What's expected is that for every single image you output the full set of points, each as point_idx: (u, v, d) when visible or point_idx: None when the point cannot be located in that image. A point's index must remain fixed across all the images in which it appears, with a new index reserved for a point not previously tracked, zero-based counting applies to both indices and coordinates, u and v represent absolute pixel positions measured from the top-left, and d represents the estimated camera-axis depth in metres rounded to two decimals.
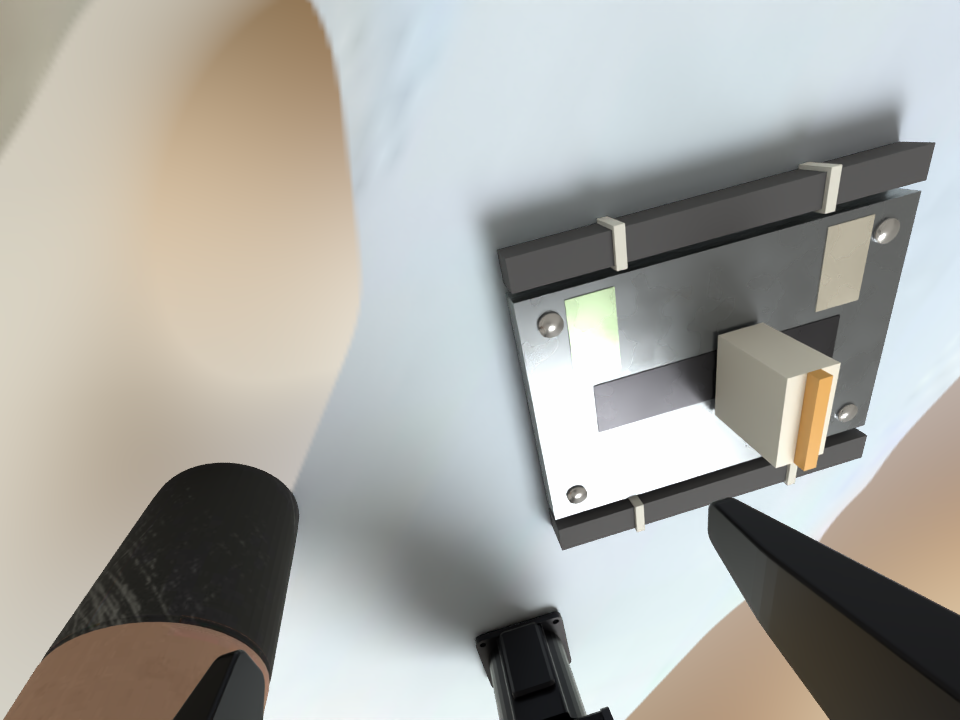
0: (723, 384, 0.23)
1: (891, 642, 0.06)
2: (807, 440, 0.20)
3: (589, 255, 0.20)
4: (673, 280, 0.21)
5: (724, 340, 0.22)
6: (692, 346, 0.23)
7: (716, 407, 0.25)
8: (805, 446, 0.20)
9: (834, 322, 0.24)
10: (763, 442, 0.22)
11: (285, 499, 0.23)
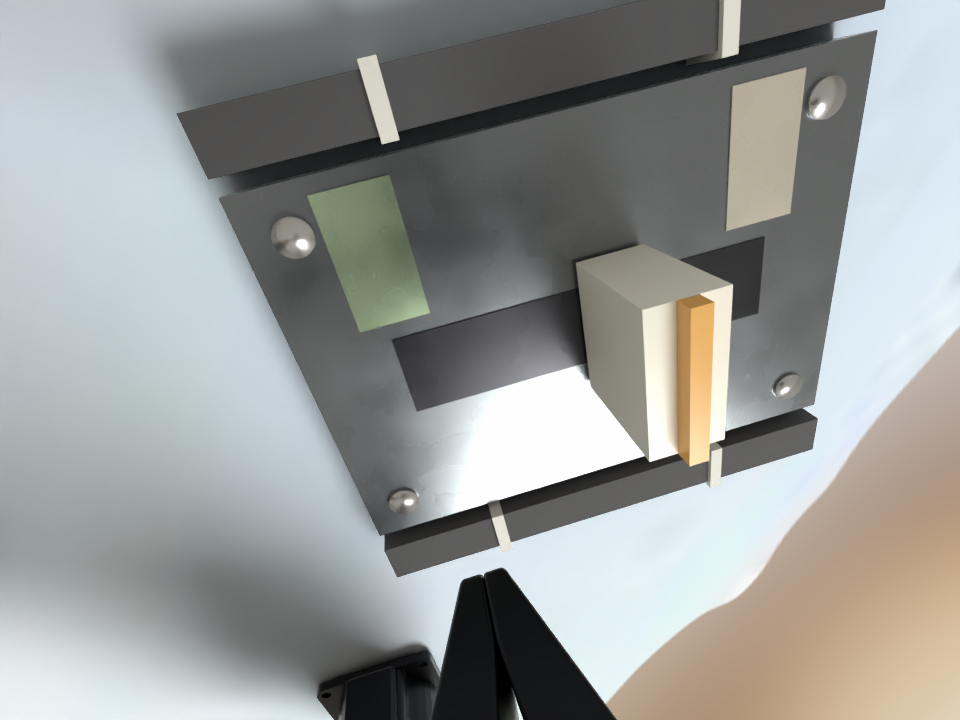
0: (590, 339, 0.16)
1: None
2: (688, 416, 0.12)
3: (330, 115, 0.12)
4: (489, 168, 0.13)
5: (581, 268, 0.15)
6: (539, 281, 0.15)
7: (590, 375, 0.17)
8: (687, 426, 0.13)
9: (757, 248, 0.16)
10: (634, 422, 0.14)
11: None
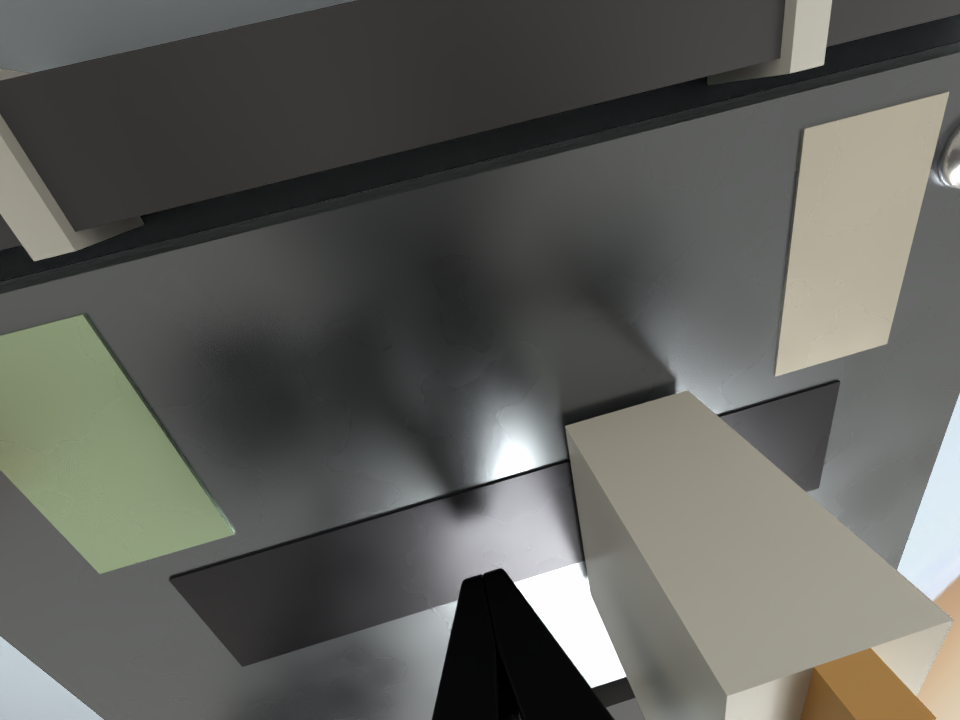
0: (591, 548, 0.09)
1: None
2: None
3: None
4: (308, 293, 0.07)
5: (575, 445, 0.08)
6: (439, 471, 0.08)
7: (590, 582, 0.10)
8: None
9: (826, 398, 0.09)
10: None
11: None
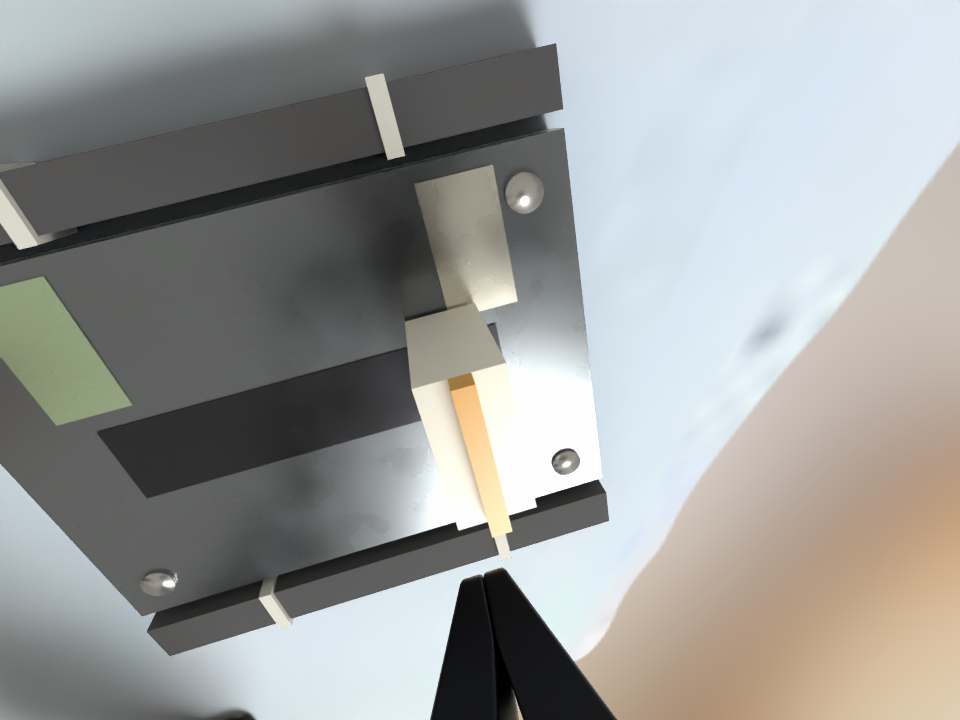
0: None
1: None
2: (478, 490, 0.12)
3: None
4: (158, 267, 0.13)
5: None
6: (251, 371, 0.15)
7: None
8: (482, 499, 0.12)
9: (492, 334, 0.16)
10: None
11: None
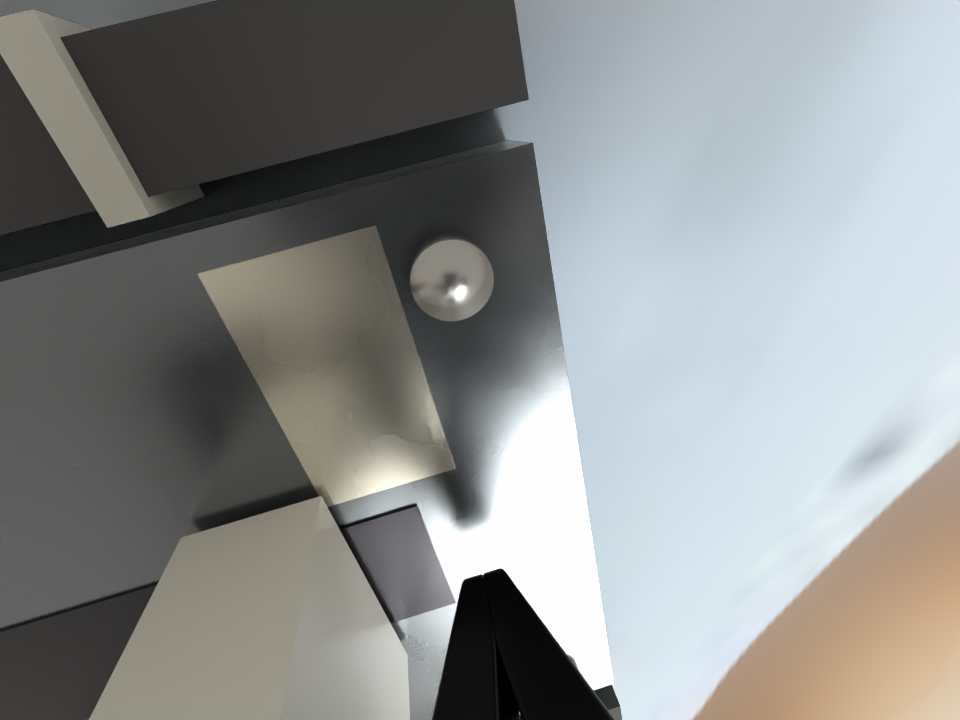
0: None
1: None
2: None
3: None
4: None
5: (171, 564, 0.07)
6: None
7: None
8: None
9: (412, 521, 0.09)
10: None
11: None
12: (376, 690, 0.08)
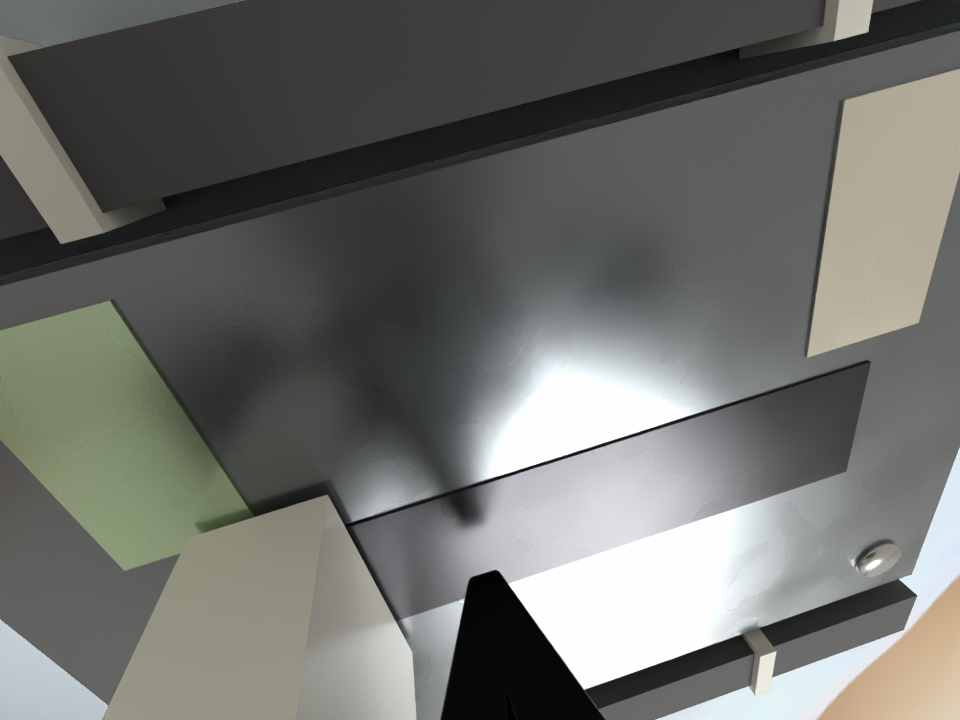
0: None
1: None
2: None
3: None
4: (340, 277, 0.06)
5: (179, 564, 0.07)
6: (469, 460, 0.08)
7: None
8: None
9: (856, 379, 0.09)
10: None
11: None
12: (384, 686, 0.08)
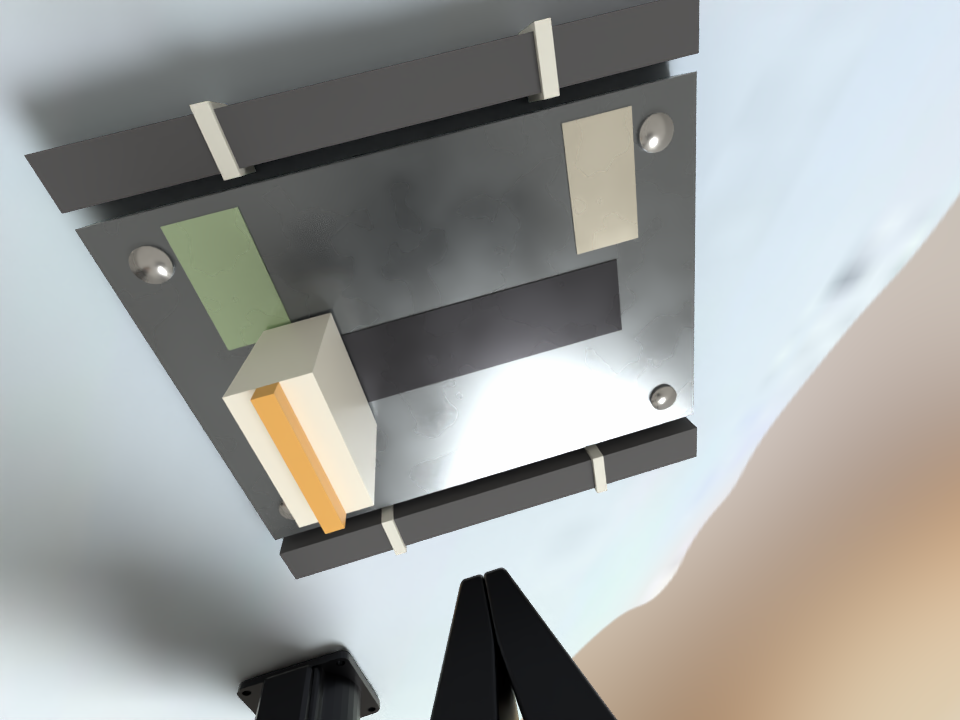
0: None
1: None
2: (302, 490, 0.13)
3: (172, 154, 0.13)
4: (334, 200, 0.15)
5: None
6: (400, 302, 0.16)
7: None
8: None
9: (611, 270, 0.17)
10: None
11: None
12: (357, 406, 0.16)
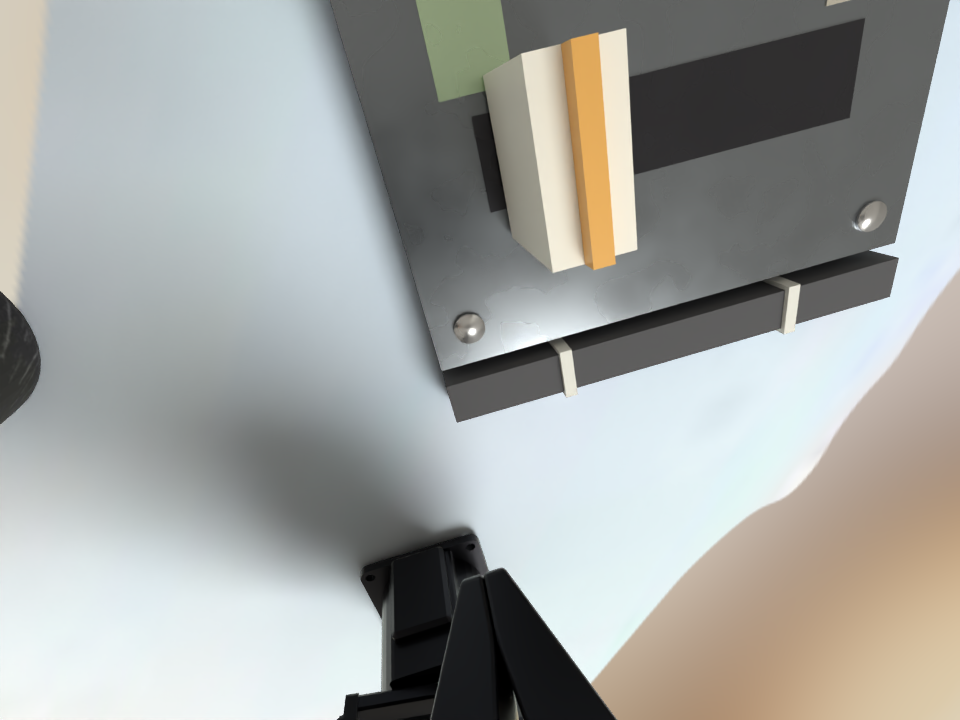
0: (503, 168, 0.14)
1: None
2: (585, 199, 0.11)
3: None
4: None
5: (486, 76, 0.13)
6: (629, 54, 0.14)
7: (510, 221, 0.16)
8: (586, 216, 0.11)
9: (856, 33, 0.15)
10: (538, 234, 0.13)
11: None
12: None
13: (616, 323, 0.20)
